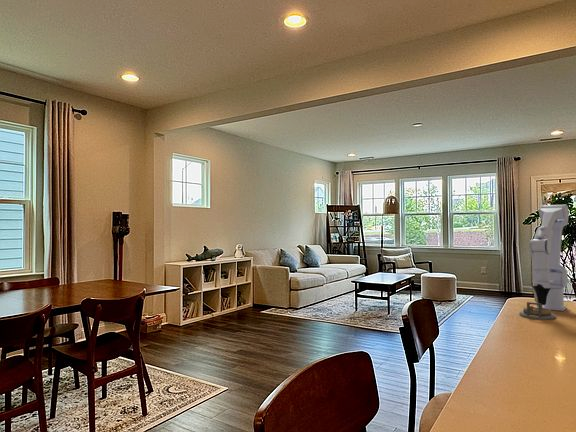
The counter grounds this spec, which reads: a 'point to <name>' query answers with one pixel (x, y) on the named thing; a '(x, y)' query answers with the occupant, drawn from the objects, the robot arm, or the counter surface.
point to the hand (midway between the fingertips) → (541, 304)
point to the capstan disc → (537, 310)
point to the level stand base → (540, 316)
